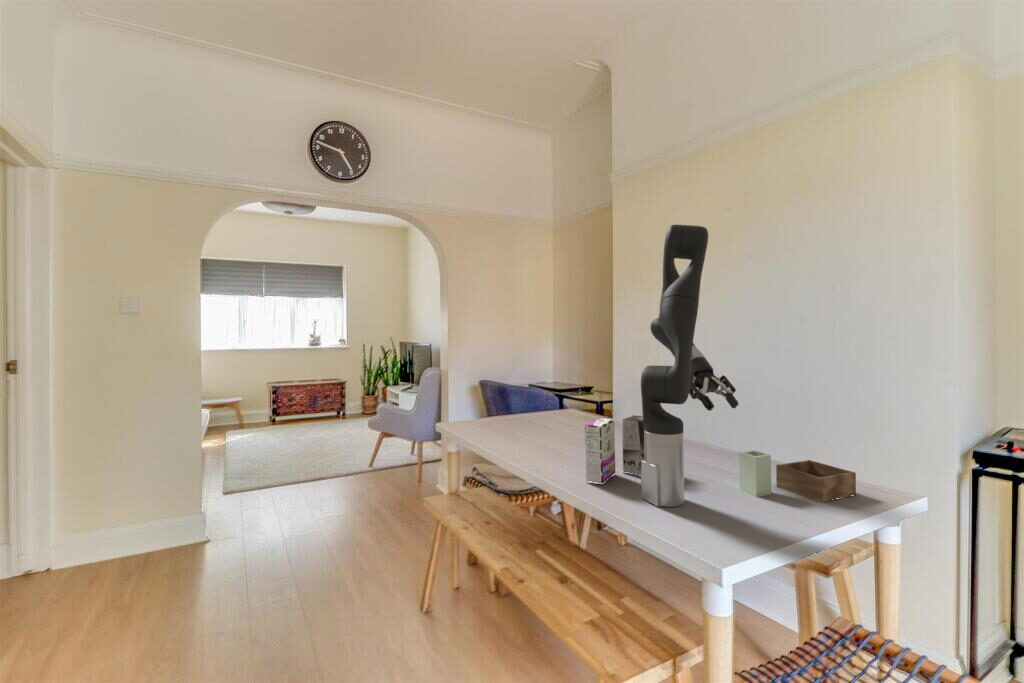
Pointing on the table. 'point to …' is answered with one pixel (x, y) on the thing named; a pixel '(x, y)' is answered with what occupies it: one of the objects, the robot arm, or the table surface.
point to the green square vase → (755, 473)
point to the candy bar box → (600, 450)
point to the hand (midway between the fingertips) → (723, 407)
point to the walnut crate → (816, 480)
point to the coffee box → (633, 444)
